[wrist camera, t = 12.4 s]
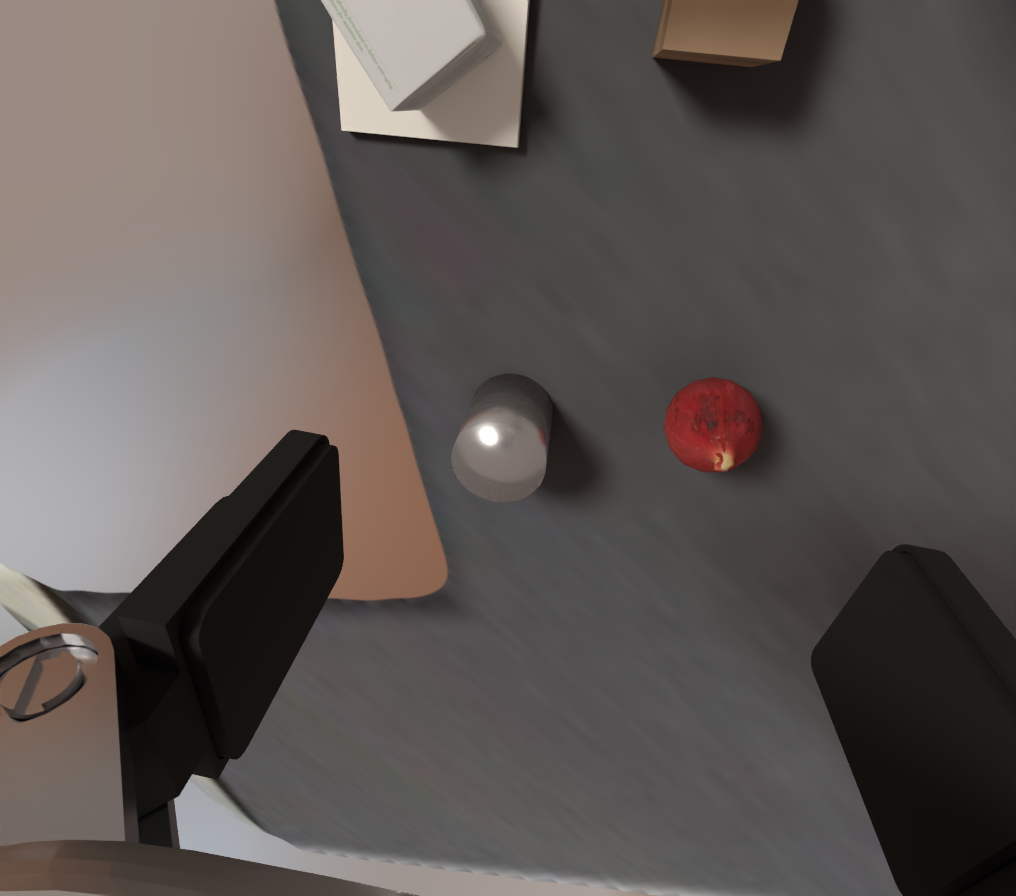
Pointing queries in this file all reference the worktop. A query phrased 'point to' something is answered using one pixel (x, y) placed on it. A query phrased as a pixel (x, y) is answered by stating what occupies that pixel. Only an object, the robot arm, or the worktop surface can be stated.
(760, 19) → the walnut block
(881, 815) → the robot arm
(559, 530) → the worktop surface
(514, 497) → the tin
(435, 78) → the small box
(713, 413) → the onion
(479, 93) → the plate
